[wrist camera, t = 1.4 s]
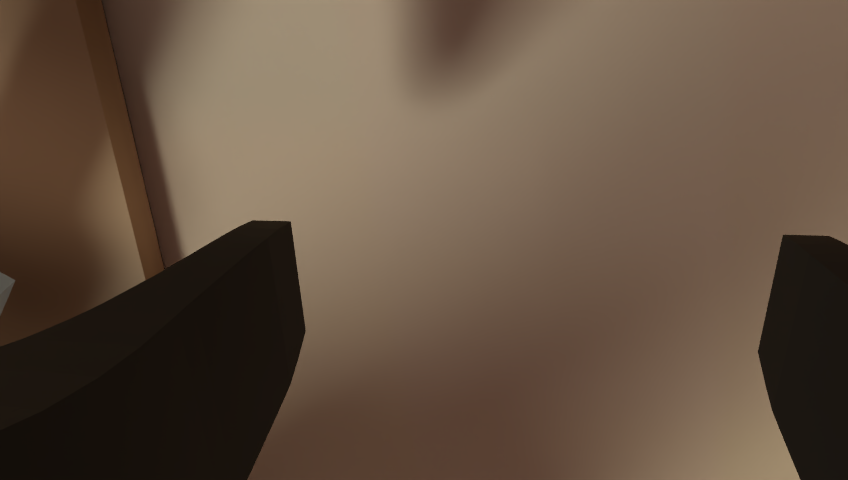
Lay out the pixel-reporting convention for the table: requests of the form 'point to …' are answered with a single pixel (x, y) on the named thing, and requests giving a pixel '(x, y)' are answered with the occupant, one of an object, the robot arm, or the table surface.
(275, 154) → the table surface
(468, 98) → the table surface
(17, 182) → the cradle
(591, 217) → the table surface
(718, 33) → the table surface
